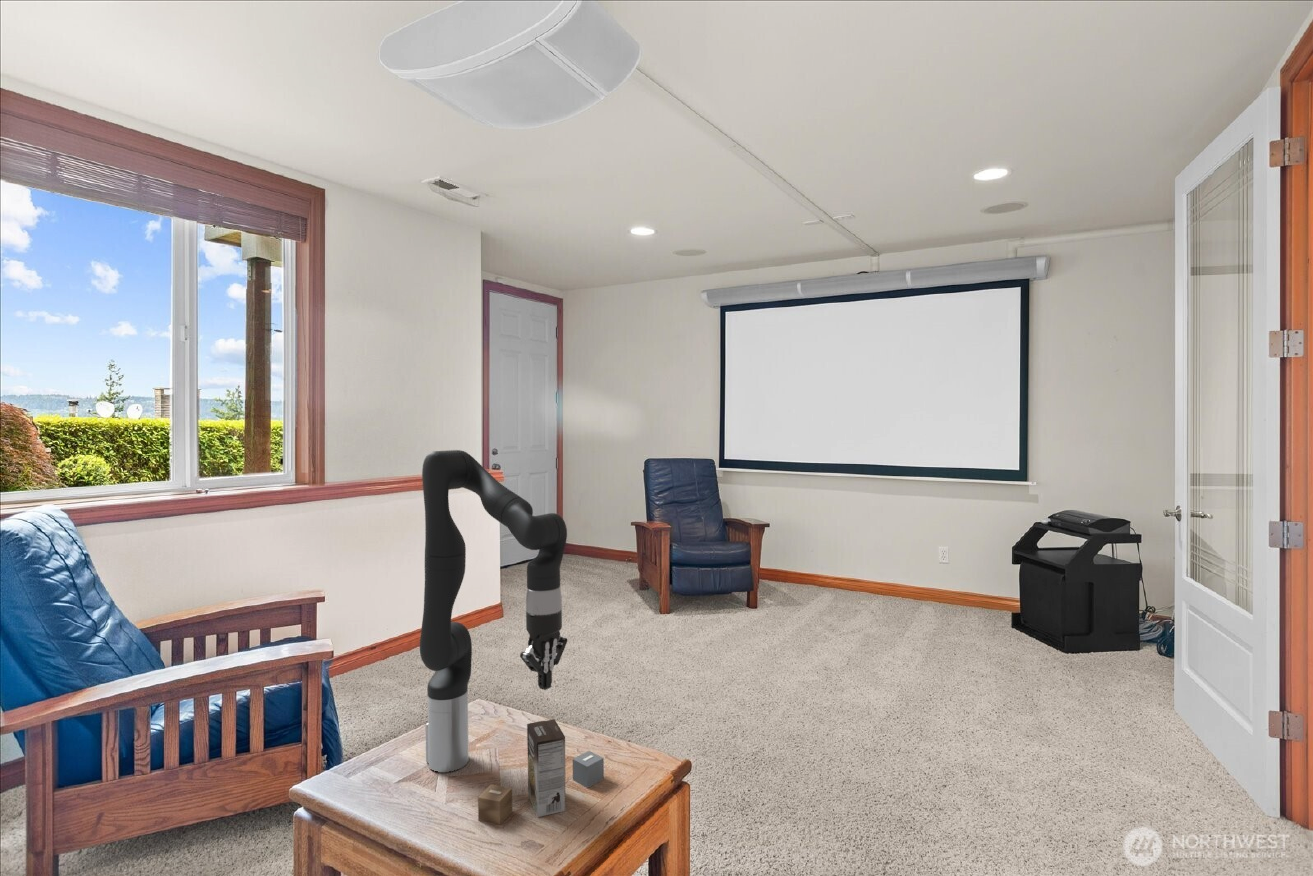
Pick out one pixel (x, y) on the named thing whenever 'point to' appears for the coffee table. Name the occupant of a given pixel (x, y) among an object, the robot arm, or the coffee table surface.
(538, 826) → the coffee table surface
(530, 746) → the coffee box
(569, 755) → the coffee table surface
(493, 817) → the walnut block
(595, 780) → the slate block
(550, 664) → the robot arm
